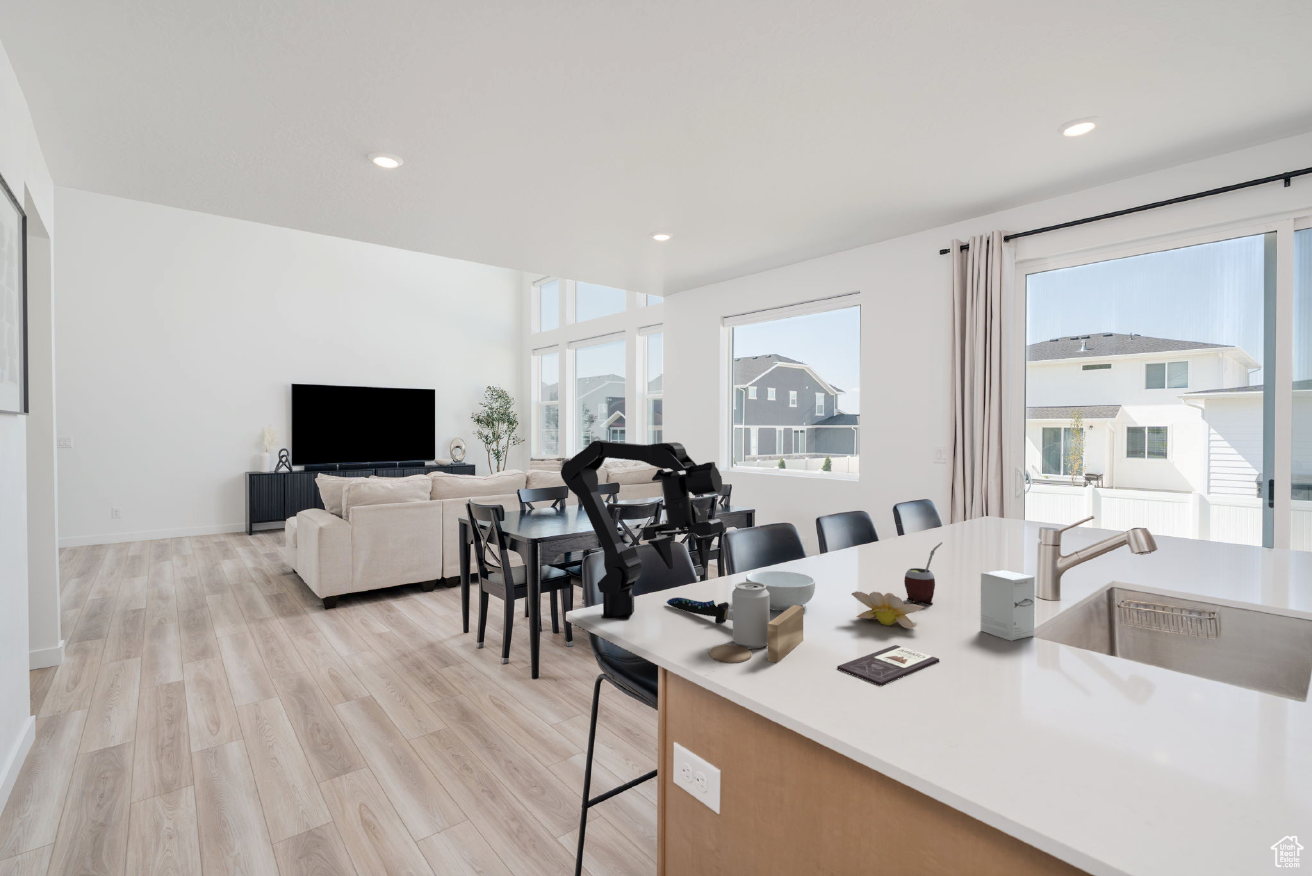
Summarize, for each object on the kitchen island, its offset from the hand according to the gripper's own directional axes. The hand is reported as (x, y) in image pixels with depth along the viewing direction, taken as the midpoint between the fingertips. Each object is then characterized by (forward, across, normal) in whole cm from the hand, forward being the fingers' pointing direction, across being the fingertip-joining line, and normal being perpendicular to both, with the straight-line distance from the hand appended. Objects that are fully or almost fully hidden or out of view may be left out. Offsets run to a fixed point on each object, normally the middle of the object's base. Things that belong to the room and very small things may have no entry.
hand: (687, 568), depth 132 cm
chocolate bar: (+20, -39, -4) cm, 44 cm away
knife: (+13, +1, -7) cm, 15 cm away
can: (+16, -14, +1) cm, 21 cm away
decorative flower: (+20, -32, -28) cm, 47 cm away
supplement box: (+23, -54, -36) cm, 69 cm away
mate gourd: (+20, -34, -50) cm, 63 cm away
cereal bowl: (+15, -7, -26) cm, 31 cm away
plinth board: (+16, -21, 0) cm, 27 cm away
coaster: (+15, -14, +9) cm, 22 cm away
